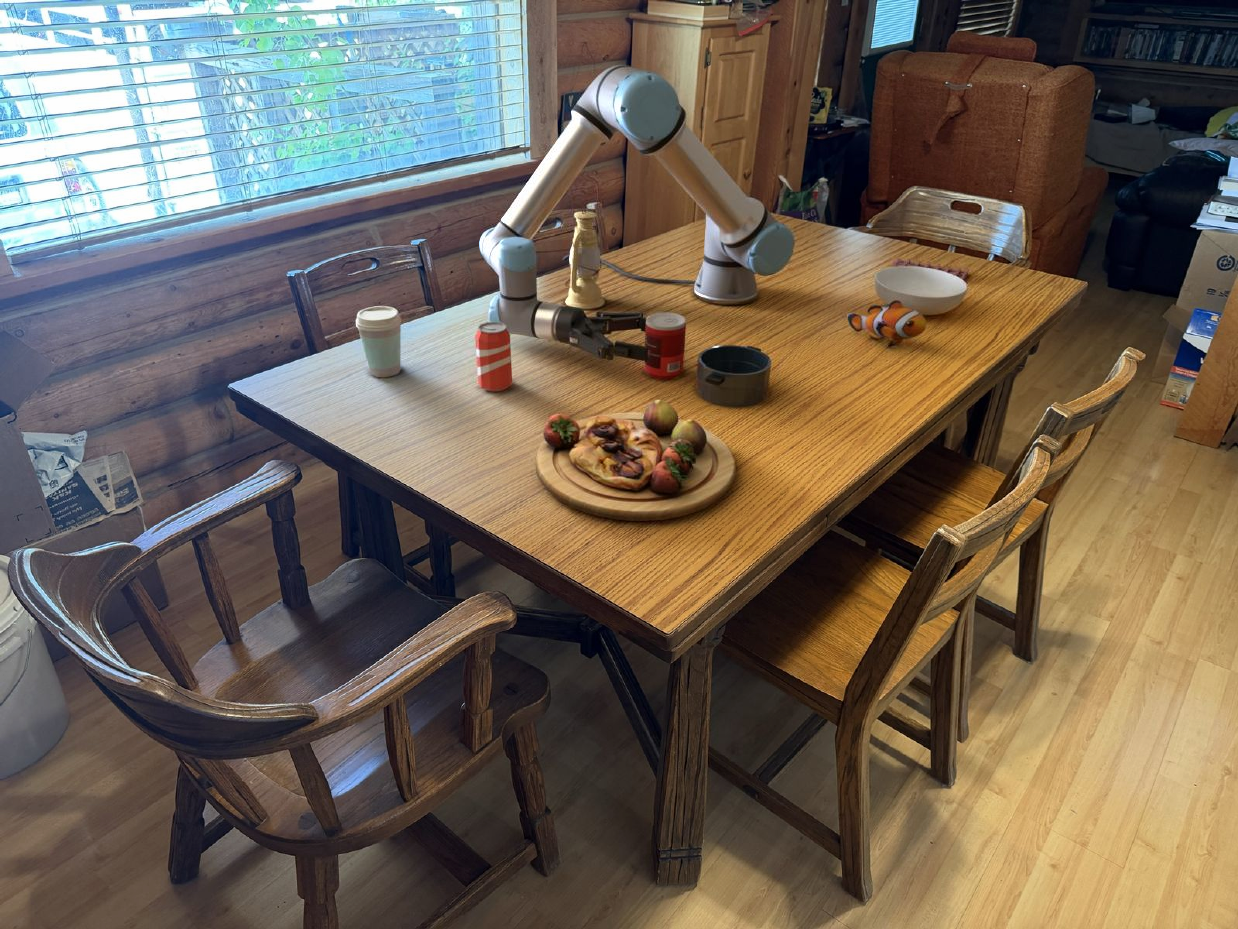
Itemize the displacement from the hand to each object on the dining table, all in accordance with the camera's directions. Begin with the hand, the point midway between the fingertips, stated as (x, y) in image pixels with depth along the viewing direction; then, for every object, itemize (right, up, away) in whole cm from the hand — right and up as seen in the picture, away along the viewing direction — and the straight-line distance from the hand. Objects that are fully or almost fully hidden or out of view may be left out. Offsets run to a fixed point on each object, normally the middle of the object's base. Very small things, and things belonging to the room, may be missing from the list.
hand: (660, 341), depth 170 cm
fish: (+48, +2, +18) cm, 52 cm away
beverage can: (-32, -9, -4) cm, 33 cm away
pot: (+13, -10, -4) cm, 17 cm away
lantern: (-16, +14, +36) cm, 42 cm away
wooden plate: (-5, -25, -29) cm, 39 cm away
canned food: (+1, -6, +3) cm, 7 cm away
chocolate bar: (+73, +26, +59) cm, 97 cm away
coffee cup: (-54, -6, +1) cm, 54 cm away
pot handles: (+14, -6, -6) cm, 16 cm away
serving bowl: (+62, +13, +36) cm, 73 cm away
